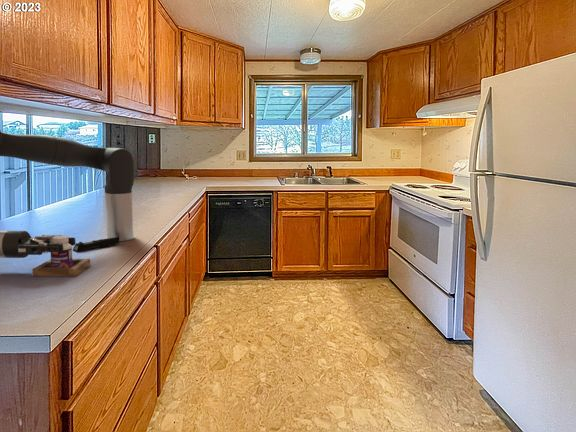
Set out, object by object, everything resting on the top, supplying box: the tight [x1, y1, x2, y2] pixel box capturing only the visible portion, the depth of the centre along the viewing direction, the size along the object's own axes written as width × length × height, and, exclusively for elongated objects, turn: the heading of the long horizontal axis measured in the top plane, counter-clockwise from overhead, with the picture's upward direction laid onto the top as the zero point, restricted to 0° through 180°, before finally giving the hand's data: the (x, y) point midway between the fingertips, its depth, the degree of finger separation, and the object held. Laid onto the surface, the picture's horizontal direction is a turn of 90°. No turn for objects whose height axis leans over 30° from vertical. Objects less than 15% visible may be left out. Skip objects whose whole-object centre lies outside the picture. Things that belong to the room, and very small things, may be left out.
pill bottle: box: [50, 234, 73, 268], centre depth 128 cm, size 5×5×10 cm
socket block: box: [32, 258, 91, 277], centre depth 128 cm, size 11×11×2 cm
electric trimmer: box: [72, 237, 120, 253], centre depth 156 cm, size 4×16×3 cm, turn 139°
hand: (68, 244), depth 127 cm, fingers open, 7 cm apart
